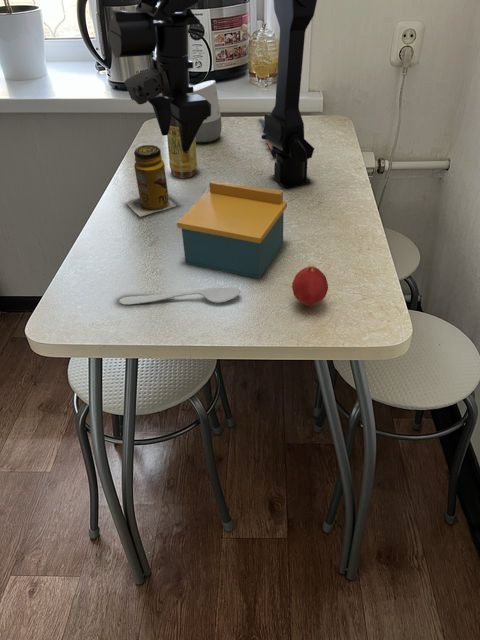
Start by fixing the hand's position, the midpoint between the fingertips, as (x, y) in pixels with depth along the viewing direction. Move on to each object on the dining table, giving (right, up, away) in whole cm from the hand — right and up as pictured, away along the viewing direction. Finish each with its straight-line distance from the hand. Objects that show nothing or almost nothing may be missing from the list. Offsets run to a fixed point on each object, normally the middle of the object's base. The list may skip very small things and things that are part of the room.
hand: (174, 142), depth 111 cm
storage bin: (+12, -21, -2) cm, 24 cm away
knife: (+19, +15, +39) cm, 46 cm away
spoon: (+3, -31, -13) cm, 34 cm away
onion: (+25, -32, -14) cm, 43 cm away
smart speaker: (+2, +15, +39) cm, 42 cm away
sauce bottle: (-1, +1, +24) cm, 24 cm away
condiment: (-7, -9, +13) cm, 17 cm away
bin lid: (+12, -16, -7) cm, 21 cm away
